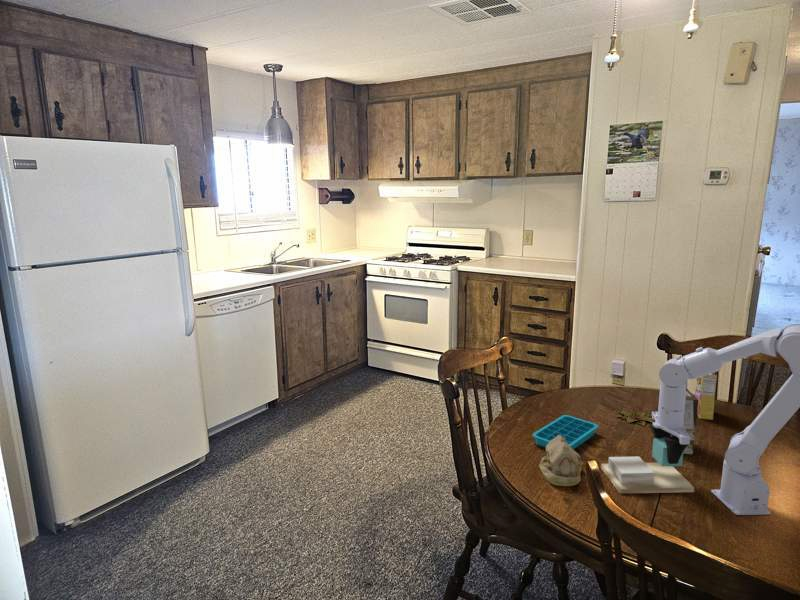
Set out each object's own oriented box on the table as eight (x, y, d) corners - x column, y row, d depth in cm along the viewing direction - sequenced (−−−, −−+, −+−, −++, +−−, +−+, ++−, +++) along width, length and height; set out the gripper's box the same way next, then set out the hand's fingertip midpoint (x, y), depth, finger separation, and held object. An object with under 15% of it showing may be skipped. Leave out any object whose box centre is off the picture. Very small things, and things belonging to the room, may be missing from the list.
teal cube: (681, 465, 125) (683, 447, 124) (661, 466, 125) (663, 447, 124) (671, 455, 130) (672, 437, 129) (651, 456, 130) (653, 438, 129)
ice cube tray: (599, 434, 154) (600, 425, 153) (566, 458, 140) (567, 448, 140) (564, 422, 162) (564, 414, 162) (530, 444, 149) (530, 435, 148)
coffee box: (693, 454, 140) (699, 400, 137) (668, 452, 142) (673, 399, 138) (682, 439, 149) (687, 388, 146) (659, 437, 150) (663, 386, 147)
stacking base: (693, 492, 123) (695, 476, 122) (620, 493, 123) (621, 477, 122) (668, 466, 135) (669, 452, 134) (600, 467, 135) (601, 453, 134)
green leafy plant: (609, 419, 165) (609, 406, 164) (625, 408, 172) (626, 396, 172) (646, 431, 156) (647, 417, 155) (662, 419, 164) (663, 406, 163)
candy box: (692, 407, 171) (696, 365, 168) (707, 409, 169) (711, 366, 166) (697, 418, 162) (702, 373, 159) (713, 420, 161) (718, 375, 158)
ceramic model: (536, 458, 141) (537, 424, 139) (577, 459, 139) (579, 426, 137) (544, 486, 127) (545, 449, 125) (590, 488, 126) (592, 451, 124)
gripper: (641, 396, 132) (638, 444, 135) (670, 420, 118) (666, 472, 120) (668, 395, 132) (664, 443, 135) (700, 419, 118) (695, 472, 120)
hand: (667, 457), depth 127 cm, fingers closed on teal cube, 5 cm apart
